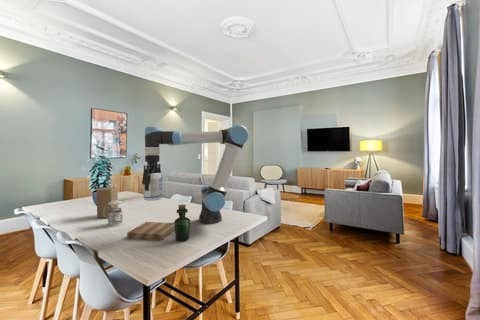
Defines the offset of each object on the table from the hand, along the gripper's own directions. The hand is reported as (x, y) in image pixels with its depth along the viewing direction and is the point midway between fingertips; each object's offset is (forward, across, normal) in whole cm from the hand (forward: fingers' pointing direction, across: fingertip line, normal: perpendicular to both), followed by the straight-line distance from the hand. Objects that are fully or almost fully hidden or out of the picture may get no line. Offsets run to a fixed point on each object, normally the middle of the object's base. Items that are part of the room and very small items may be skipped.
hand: (152, 194), depth 121 cm
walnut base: (+22, 0, 0) cm, 22 cm away
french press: (+22, -10, -32) cm, 40 cm away
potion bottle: (+22, +7, +20) cm, 30 cm away
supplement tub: (+3, 0, 0) cm, 3 cm away
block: (+22, -26, -49) cm, 60 cm away
